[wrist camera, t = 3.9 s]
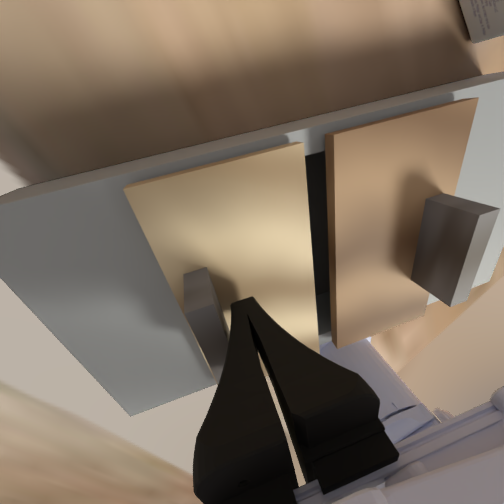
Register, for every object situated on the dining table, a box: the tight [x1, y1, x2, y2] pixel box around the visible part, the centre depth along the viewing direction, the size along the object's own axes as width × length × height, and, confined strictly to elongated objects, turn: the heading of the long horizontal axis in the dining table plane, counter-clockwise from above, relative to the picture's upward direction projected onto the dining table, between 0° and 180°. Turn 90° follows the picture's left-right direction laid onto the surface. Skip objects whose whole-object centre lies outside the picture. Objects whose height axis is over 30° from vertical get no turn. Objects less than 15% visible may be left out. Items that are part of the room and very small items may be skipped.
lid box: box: [0, 72, 504, 416], centre depth 18 cm, size 16×32×5 cm, turn 102°
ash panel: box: [123, 141, 320, 385], centre depth 13 cm, size 15×8×4 cm, turn 12°
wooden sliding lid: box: [325, 97, 501, 349], centre depth 14 cm, size 15×8×4 cm, turn 12°
